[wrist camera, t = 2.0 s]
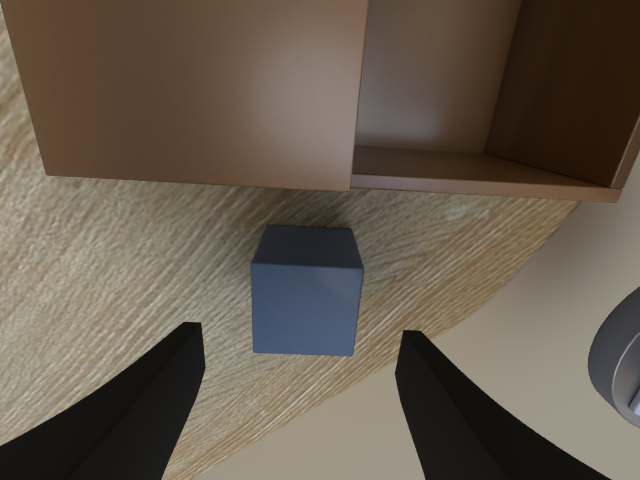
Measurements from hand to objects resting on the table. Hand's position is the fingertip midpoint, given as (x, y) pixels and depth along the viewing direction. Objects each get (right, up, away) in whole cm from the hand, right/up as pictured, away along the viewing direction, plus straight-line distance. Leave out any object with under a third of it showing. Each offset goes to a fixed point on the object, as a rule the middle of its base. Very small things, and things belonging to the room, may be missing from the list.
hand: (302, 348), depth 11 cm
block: (0, +2, +6) cm, 7 cm away
